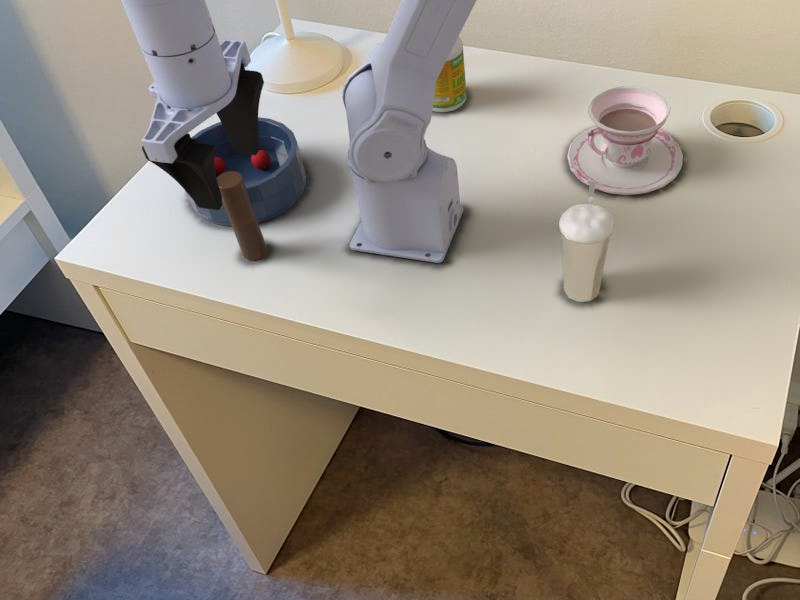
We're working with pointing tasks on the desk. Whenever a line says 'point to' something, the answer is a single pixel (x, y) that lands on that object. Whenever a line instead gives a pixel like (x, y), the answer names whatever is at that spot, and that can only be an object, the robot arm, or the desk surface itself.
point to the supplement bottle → (451, 81)
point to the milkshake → (584, 247)
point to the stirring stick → (242, 215)
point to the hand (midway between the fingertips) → (229, 178)
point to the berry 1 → (219, 165)
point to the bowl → (259, 170)
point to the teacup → (626, 143)
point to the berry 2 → (261, 160)
